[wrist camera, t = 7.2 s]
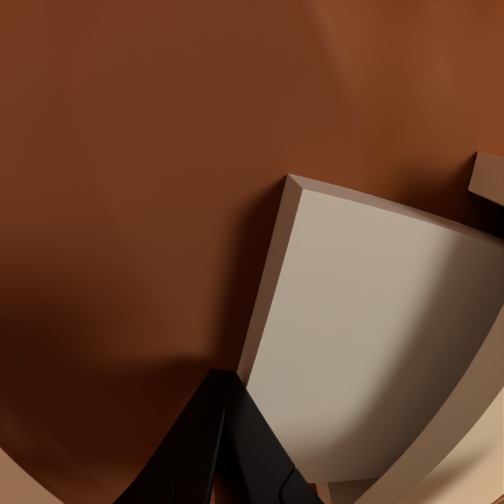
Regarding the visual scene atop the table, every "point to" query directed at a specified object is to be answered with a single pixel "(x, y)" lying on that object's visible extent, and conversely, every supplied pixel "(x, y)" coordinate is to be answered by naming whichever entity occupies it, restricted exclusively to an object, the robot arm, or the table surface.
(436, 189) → the table surface
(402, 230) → the pale wall plate
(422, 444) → the cream rectangular slab
